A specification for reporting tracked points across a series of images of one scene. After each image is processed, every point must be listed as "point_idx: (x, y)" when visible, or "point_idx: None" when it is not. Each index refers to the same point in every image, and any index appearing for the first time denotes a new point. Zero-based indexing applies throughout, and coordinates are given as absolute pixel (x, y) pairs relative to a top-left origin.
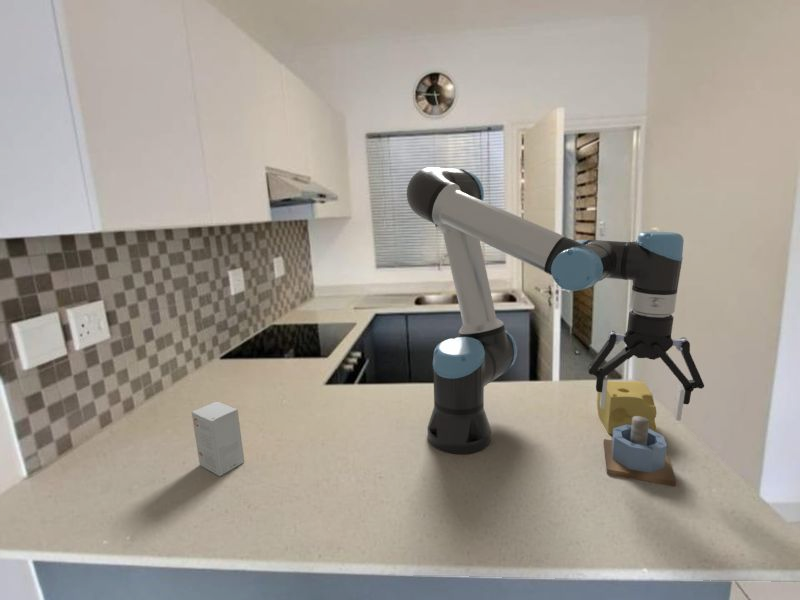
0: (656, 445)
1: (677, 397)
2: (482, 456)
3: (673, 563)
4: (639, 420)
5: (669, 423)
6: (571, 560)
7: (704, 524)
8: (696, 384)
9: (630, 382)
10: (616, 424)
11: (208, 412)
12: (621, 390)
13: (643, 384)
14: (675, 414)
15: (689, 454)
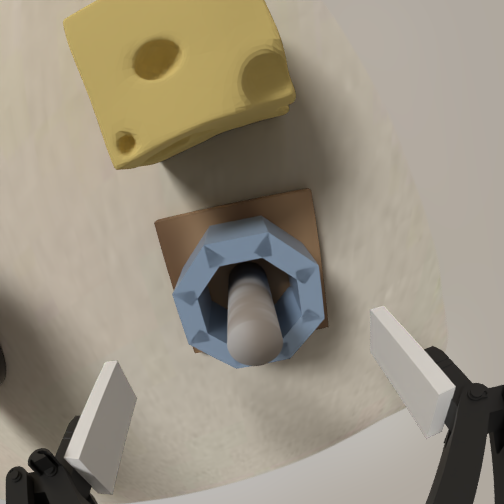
0: (298, 331)
1: (407, 380)
2: (17, 378)
3: (304, 456)
4: (252, 353)
5: (313, 11)
6: (206, 486)
7: (353, 389)
8: (490, 433)
9: None
10: (171, 153)
11: None
12: (147, 46)
13: None
14: (375, 342)
15: (363, 165)
